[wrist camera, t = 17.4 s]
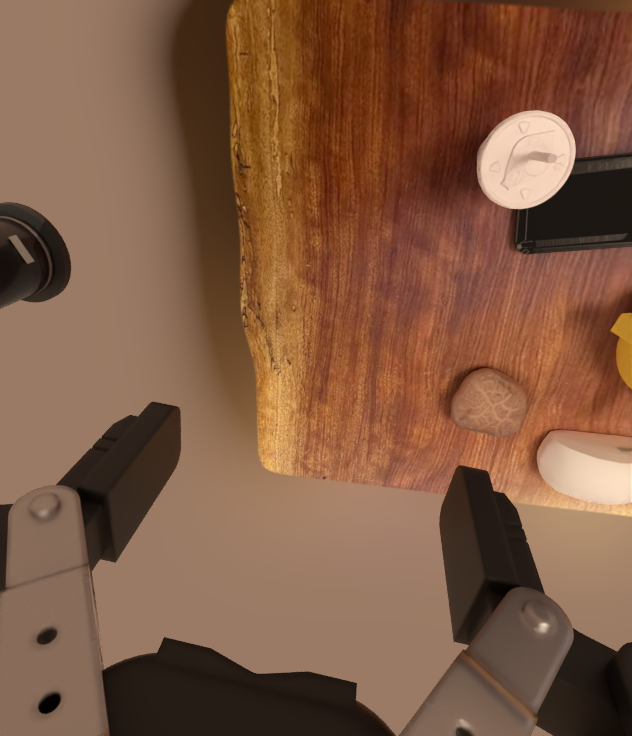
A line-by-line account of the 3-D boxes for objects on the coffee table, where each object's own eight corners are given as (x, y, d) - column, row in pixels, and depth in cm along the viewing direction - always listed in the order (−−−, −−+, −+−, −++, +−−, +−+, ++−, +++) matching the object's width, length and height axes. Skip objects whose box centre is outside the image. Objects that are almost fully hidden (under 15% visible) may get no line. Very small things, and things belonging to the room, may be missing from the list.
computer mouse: (642, 481, 53) (671, 522, 48) (528, 468, 55) (543, 506, 49) (663, 438, 50) (696, 475, 45) (542, 425, 52) (559, 460, 46)
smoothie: (553, 146, 39) (627, 153, 27) (497, 208, 42) (541, 240, 30) (498, 97, 38) (549, 81, 26) (445, 164, 41) (468, 179, 29)
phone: (523, 165, 39) (722, 144, 36) (520, 164, 40) (714, 144, 37) (515, 256, 42) (695, 243, 40) (512, 253, 43) (688, 240, 41)
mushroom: (509, 435, 53) (548, 392, 47) (489, 466, 49) (528, 422, 43) (455, 397, 56) (485, 352, 50) (432, 424, 52) (461, 377, 46)
